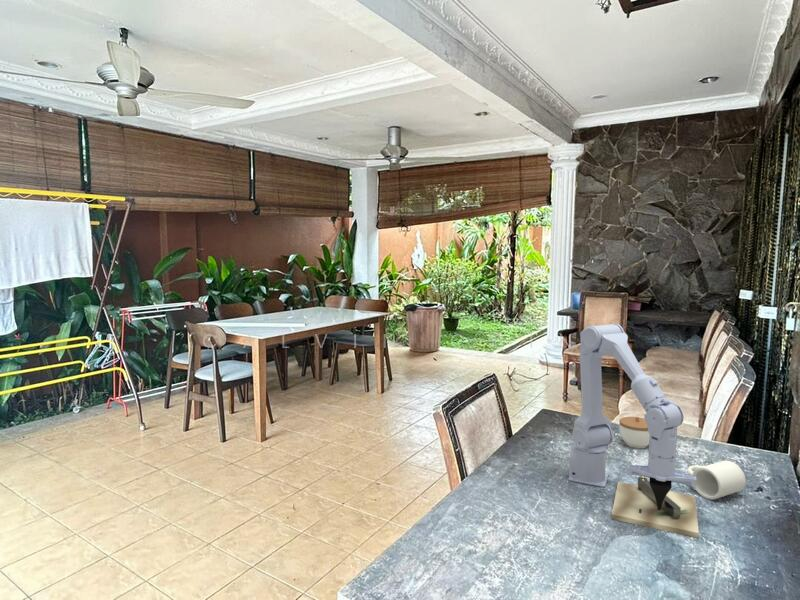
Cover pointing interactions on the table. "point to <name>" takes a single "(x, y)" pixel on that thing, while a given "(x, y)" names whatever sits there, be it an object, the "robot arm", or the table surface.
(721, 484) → the mug
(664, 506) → the pointer
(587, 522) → the table surface
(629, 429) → the lidded jar
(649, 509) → the board
